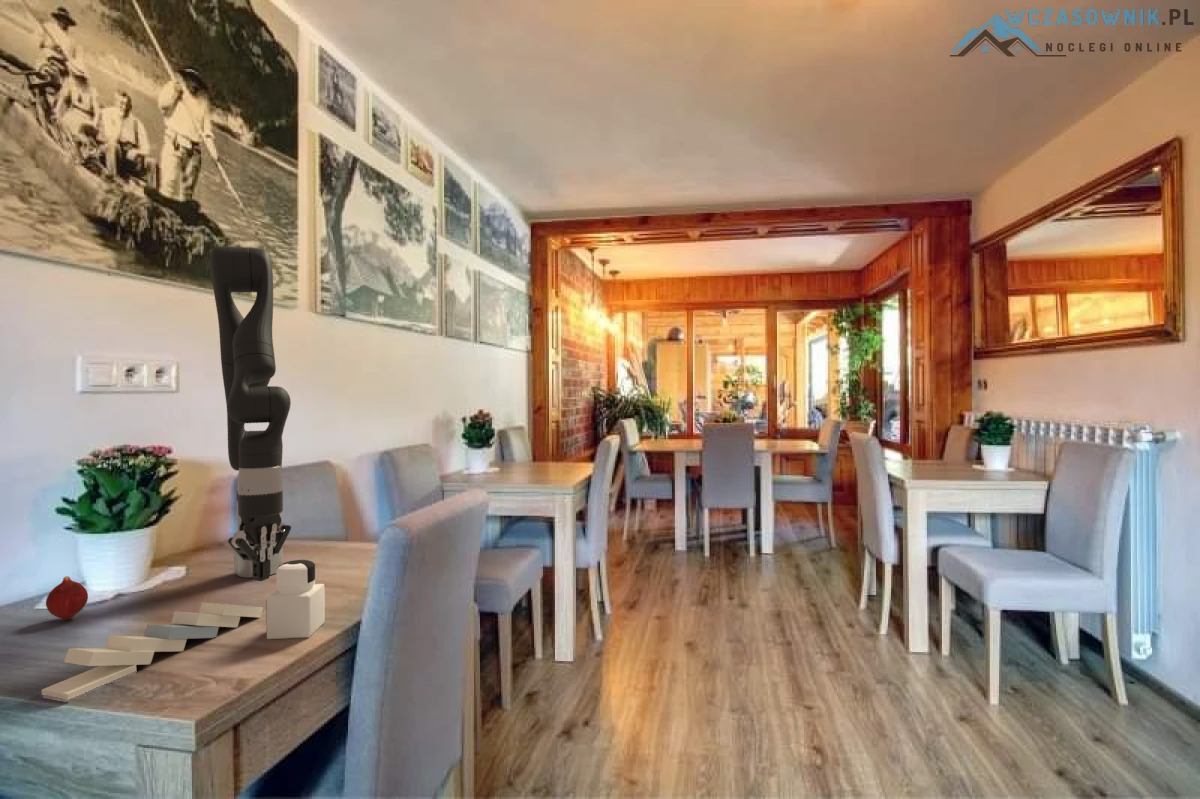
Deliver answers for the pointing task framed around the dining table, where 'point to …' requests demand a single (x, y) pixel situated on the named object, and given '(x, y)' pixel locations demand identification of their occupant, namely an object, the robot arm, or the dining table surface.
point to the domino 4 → (180, 631)
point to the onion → (66, 599)
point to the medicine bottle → (295, 602)
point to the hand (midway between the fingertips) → (261, 579)
